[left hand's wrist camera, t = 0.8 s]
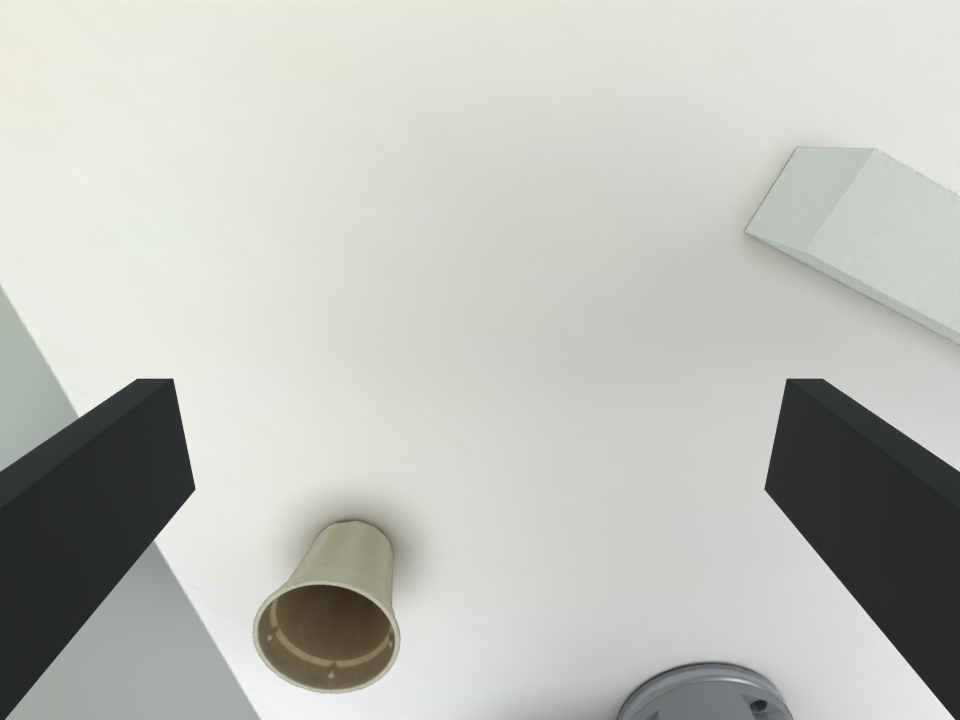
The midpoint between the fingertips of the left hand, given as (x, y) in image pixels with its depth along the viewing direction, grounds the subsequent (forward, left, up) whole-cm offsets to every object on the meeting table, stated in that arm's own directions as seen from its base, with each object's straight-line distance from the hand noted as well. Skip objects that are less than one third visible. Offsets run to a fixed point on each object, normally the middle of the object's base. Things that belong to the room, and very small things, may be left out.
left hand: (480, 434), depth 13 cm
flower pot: (-20, +16, -26) cm, 36 cm away
